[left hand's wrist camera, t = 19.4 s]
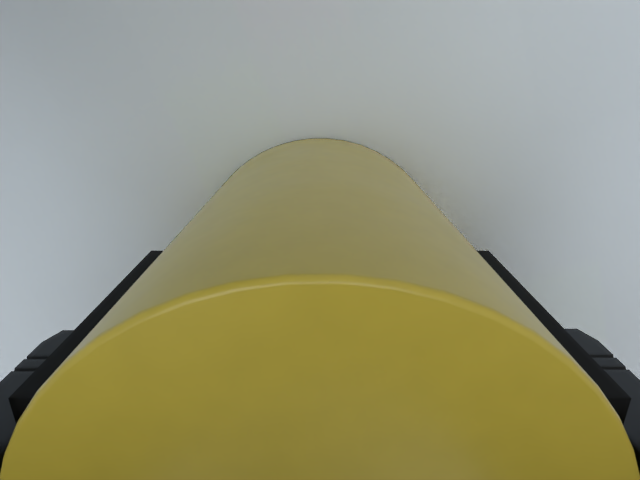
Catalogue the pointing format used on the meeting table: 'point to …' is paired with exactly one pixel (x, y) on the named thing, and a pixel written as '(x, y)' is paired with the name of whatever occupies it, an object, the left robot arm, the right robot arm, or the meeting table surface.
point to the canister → (319, 350)
